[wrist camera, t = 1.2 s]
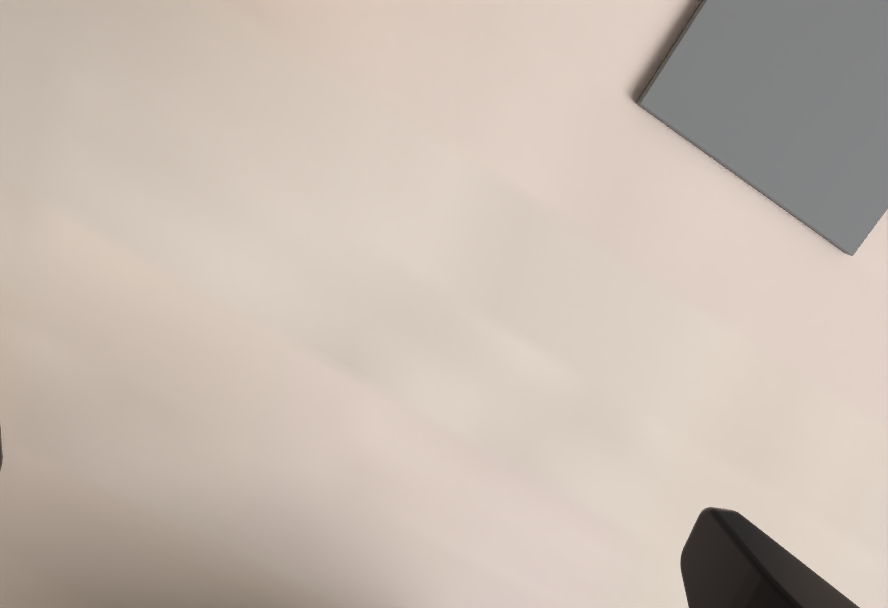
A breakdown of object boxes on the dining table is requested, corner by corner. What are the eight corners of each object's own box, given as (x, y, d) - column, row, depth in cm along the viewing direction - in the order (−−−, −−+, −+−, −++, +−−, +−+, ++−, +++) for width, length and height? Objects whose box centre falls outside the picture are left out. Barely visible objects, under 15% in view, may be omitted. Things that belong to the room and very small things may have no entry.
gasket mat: (846, 254, 23) (852, 255, 22) (636, 103, 20) (640, 103, 20) (1022, 14, 21) (1031, 13, 21) (819, -181, 19) (826, -186, 18)
